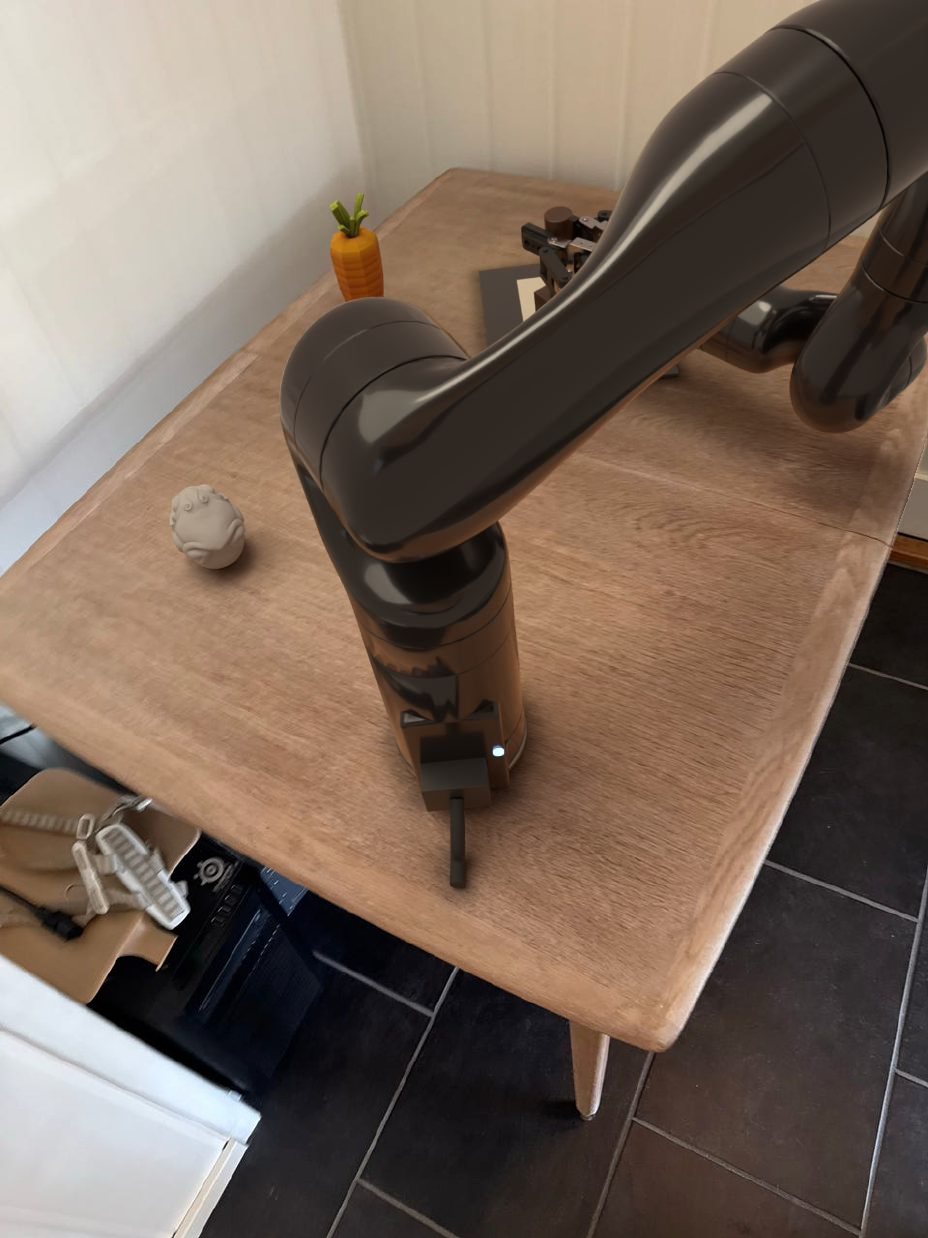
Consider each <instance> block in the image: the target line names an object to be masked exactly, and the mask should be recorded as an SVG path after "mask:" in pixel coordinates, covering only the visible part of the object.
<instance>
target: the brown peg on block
mask: <svg viewBox="0 0 928 1238" xmlns="http://www.w3.org/2000/svg"><path fill="white" fill-rule="evenodd" d="M573 213H574V212H573V210H572V209H571V208H570V207H567V206H563V205H559V206H558V205H557V206H553V207H550V208H548V209H547V210H545V212H544V214H543V223H544V229H545V230H547V231H548V232H551V233H554V234H555V236H559V237H562V238H565V239H568V240H571V241H572V240H574V233H573V215H574V214H573ZM561 254H562V258H565V259H567V254H566V253H565V252H563V251H561ZM553 297H554V296H553V295H552V293H551V292H550V290H549V289H548V288H547V286H544V287H542V288H540V289H538V290H536V291H535V292H534V302H535V312H536V311H537V310H538V309H540V308H541V307H542V306H543V305H544V304H546V303H547V302H548V301H549V300H550V299H551V298H553Z"/></svg>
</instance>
